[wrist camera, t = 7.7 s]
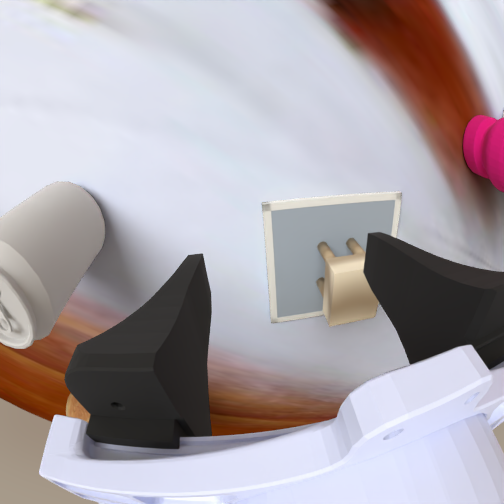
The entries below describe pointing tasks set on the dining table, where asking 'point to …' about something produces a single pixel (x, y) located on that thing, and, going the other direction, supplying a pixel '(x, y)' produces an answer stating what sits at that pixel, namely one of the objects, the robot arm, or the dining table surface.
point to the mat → (310, 235)
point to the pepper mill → (485, 148)
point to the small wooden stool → (345, 286)
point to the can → (45, 258)
